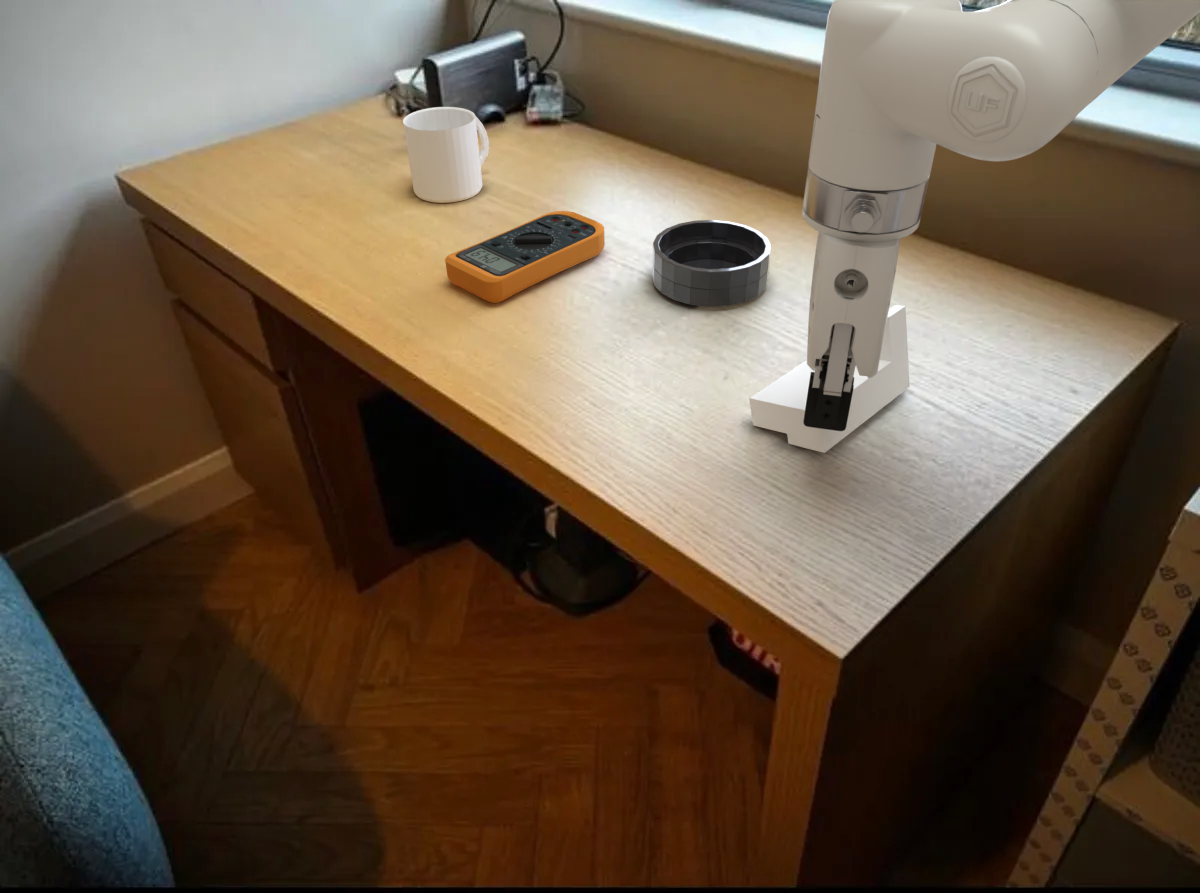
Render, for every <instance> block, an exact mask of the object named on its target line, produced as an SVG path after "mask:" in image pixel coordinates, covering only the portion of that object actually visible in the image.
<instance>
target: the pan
mask: <svg viewBox="0 0 1200 893" xmlns="http://www.w3.org/2000/svg"><path fill="white" fill-rule="evenodd" d="M771 253H772V245H771V242H770V240H769V238H768V237H767V236H766V235H764V234H763V232H761V231H760V230H757V229H756V228H753V227H752V226H749V225H747V224H742V223H739V222H733V221H729V220H716V219H700V220H691V221H685V222H680V223H677V224H674V225H671V226H669V227H667V228H664V229H663V230H662V231H660V232H659V233H657V235H656V236H655V238H654V240H653V242H652V270H651V271H652V275H651V276H652V281H653V286H654V287H655V288H656V289H657V290H658V291H659V292H660V293H661V294H662V295H664V296H666V297H667V298H669V299H671V300H673V301H676V302H680V303H682V304H686V305H688V306H689V305H690V306H694V307H695V306H697V307H704V308H720V307H730V306H735V305H740V304H744V303H747V302H749V301H752V300H754V299H756V298H757V297H759V296H760V295H761V294H763V292H764V291H765V290H766V289H767V285H768V281H769V273H770V262H771V256H772V255H771Z"/></svg>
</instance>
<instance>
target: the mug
mask: <svg viewBox="0 0 1200 893" xmlns="http://www.w3.org/2000/svg"><path fill="white" fill-rule="evenodd" d="M402 124H403V131H404V137H405V143H406V150H407V156H408V163H409V169H410V175H411V183H412V189H413V192H414V194H415V195H416V197H418V198H419V199H420V200H423V201H425V202H428V203H429V202H430V203H436V204H448V203H449V204H451V203H456V202H461V201H466V200H469V199H471V198H473V197H475V196H477V195H478V194H479V193H480V192H481V191H482V188H483V175H482V174H483V173H482V165H483V164H484V163H485V162H486V159H488V158H487V157H488V155H489V152H490V139H489V136H488V132H487V130H486V128H485V126H484V123H483V122H481V121H480V119H479V118H478V117H477V116H476V114H475V112H473V111H471V110H470V109H467V108H462V107H457V106H436V107H435V106H434V107H427V108H423V109H419V110H416V111H413V112H411V113H409V114H407V115H406V116H405V117H404V118H403V119H402ZM478 136H479V138H480V147H479V138H478ZM480 148H481V149H480Z"/></svg>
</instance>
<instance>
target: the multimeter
mask: <svg viewBox="0 0 1200 893" xmlns="http://www.w3.org/2000/svg"><path fill="white" fill-rule="evenodd" d="M605 242H606V241H605V227H604V225H603V224H602V223H600V222H599V221H596V220H595V219H592V218H590V217H587V216H585V215H582V214H579V213H577V212H574V211H569V210H556V211H551V212H548V213H545V214H542V215H540V216H538V217H536V218H533V219H532V220H529V221H527V222H524V223H522V224H520V225H517V226H515V227H513V228H511V229H509V230H506V231H503V232H501V233H499V234H497V235H495V236H492V237H489V238H488V239H485V240H483V241H480V242H478V243H475V244H473V245H470V246H468V247H466V248H465V247H464V248H463V249H461V250H458V251H455V252H453V253H450V254H448V255H447V256H445V258H444V262H445V269H446V275H447V278H448V280H449V282H451V284H453V285H455V286H456V287H459V288H461V289H463V290H465V291H466V292H468V293H471V294H473V295H475V296H477V297H479V298H480V299H482V300H485V301H487V302H489V303H492V304H499V303H500V302H503V301H505V300H507V299H508V298H511V297H512V296H514V295H516V294H518V293H520V292H522V291H523V290H526V289H527V288H530V287H531V286H534V285H535V284H538V283H540V282H542V281H544V280H546V279H548V278H550V277H553V276H554V275H556V274H559V273H561V272H563V271H565V270H568V269H570V268H572V267H574V266H576V265H579V264H581V263H583V262H586V261H588V260H590V259H593V258H595V257H597V256H598V255H600V254H601V252H603V250H604V248H605V245H606V244H605Z"/></svg>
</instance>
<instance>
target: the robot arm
mask: <svg viewBox="0 0 1200 893" xmlns="http://www.w3.org/2000/svg"><path fill="white" fill-rule="evenodd" d="M1198 14H1200V0H1005V1H1004V2H1002V3H1001V4H998V5H995V6H990V7H986V8H982V9H979V10H975V11H966V10H965V11H964V10H963V6H962V3H961V0H833V2H832V3H831V5H830V8H829V11H828V14H827V19H826V21H827V22H826V27H825V32H824V40H823V48H822V57H821V63H820V72H819V78H818V86H817V93H816V94H817V95H816V100H815V101H816V103H815V110H814V119H813V125H812V132H811V141H810V149H809V157H808V165H807V172H806V179H805V188H804V195H803V201H802V202H803V203H802V205H803V206H802V209H801V210H802V211H801V216H802V219H803V221H804V222H805V223H806V224H807V225H808V226H809V227H810V228H811V229H813V230H814V231H816V232H817V237H816V245H815V252H814V261H813V269H812V278H811V285H810V295H809V296H810V297H809V307H808V308H809V310H808V323H807V324H808V327H807V328H808V329H807V347H806V348H807V350H806V351H807V352H806V360H807V365H808V366H809V367H810V368H811V369H812V370H813V371H814V369H815V372H811V375H810V381H809V388H808V394H807V401H806V407H805V414H804V421H803V423H804V425H805V426H807V427H813V428H820V429H827V430H835V431H844V430H845V429H846V425H847V420H848V415H849V410H850V404H851V399H852V394H853V388H854V385H853V384H854V377H853V375H854V370H855V366H857V370H858V373H859V375H860V376H867V377H868V378H872V377H873V376H875V375H876V374H877V373H878V367H879V361H880V355H881V349H882V343H883V338H884V332H885V327H886V322H887V317H888V311H889V309H890V306H891V302H892V301H891V300H892V294H893V290H894V283H895V278H896V272H897V266H898V260H899V253H900V252H899V250H900V244H901V239H903V238H906V237H909V236H911V235H912V234H913V233H914V232H915V231H916V230H918V228H919V227H920V223H921V217H922V213H923V208H924V205H925V204H924V203H925V199H926V195H927V191H928V186H929V180H930V176H931V172H932V167H933V162H934V158H935V153H936V149H937V145H938V146H940V147H942V148H945V149H947V150H949V151H952V152H954V153H955V154H959V155H961V156H965V157H968V158H971V159H975V160H979V161H987V162H1008V161H1014V160H1018V159H1020V158H1024V157H1026V156H1029V155H1031V154H1033V153H1035V152H1037V151H1038V150H1040V149H1041V148H1044V146H1046V145H1047V144H1049V142H1051V141H1052V140H1053V139H1054V138H1055V137H1056V136H1058V134H1060V133H1061V132H1062V131H1063V130H1064V129H1065V128H1066V127H1067V126H1068V125H1070V123H1071V122H1072V121H1073V120H1075V119H1076V117H1077V116H1078V115H1079V114H1080V113H1081V112H1083V110H1084V109H1085V108H1086V107H1088V106H1089V105H1090V104H1091V103H1093V102H1094V101H1095V100H1096V99H1097V98H1098V97H1100V96H1101V95H1102V93H1104V92H1105V91H1106V90H1107V89H1109V88H1110V87H1111V86H1112V85H1113V84H1114V83H1115V82H1116V81H1118V80H1119V79H1120V78H1121V77H1123V76H1124V75H1125V74H1126V73H1127V72H1128V71H1130V70H1131V69H1132V68H1133V67H1134V66H1136V65H1137V64H1138V63H1139V62H1140V61H1142V60H1143V59H1144V58H1146V57H1147V56H1148V55H1149V54H1150V53H1152V52H1153V51H1154V50H1156V49H1157V48H1158V47H1159V46H1160V45H1161V44H1163V43H1164V42H1165V41H1166V40H1168V39H1169V38H1170V37H1171V36H1172V35H1173V34H1175V33H1176V32H1177V31H1178V30H1179V29H1181V28H1182V27H1183V26H1185V25H1186V24H1187V23H1189V22H1190V21H1191V20H1192V19H1193V18H1194V17H1196V16H1197V15H1198Z"/></svg>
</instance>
